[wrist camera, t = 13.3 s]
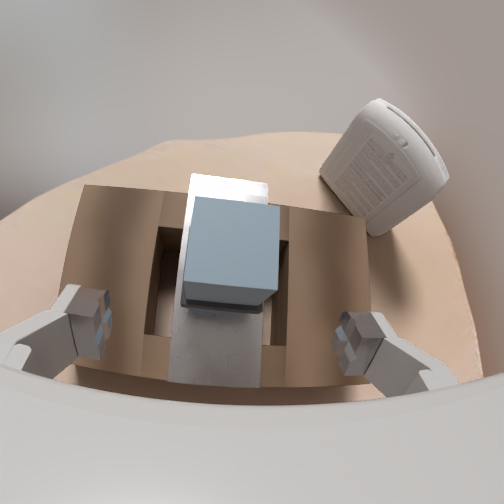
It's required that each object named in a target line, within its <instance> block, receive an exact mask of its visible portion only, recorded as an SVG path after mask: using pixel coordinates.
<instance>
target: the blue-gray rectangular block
mask: <svg viewBox="0 0 504 504" xmlns="http://www.w3.org/2000/svg"><path fill="white" fill-rule="evenodd" d="M279 232H280V206H274V205H267V204H259V203H252V202H244V201H236V200H228V199H220V198H212V197H203V196H195V198H194V205H193V211H192V218H191V225H190V227H189V234H188V242H187V249H186V257H185V265H184V274H183V283H182V292H181V301H180V305H181V307H185V308H188V309H198V310H208V311H218V312H229V313H240V314H248V313H249V314H260V313H261V312H263V301H265V300H266V299H267V298H268V297H270V296H271V295H272V294H273V293H275V292H276V291H277V290H278V268H279Z"/></svg>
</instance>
